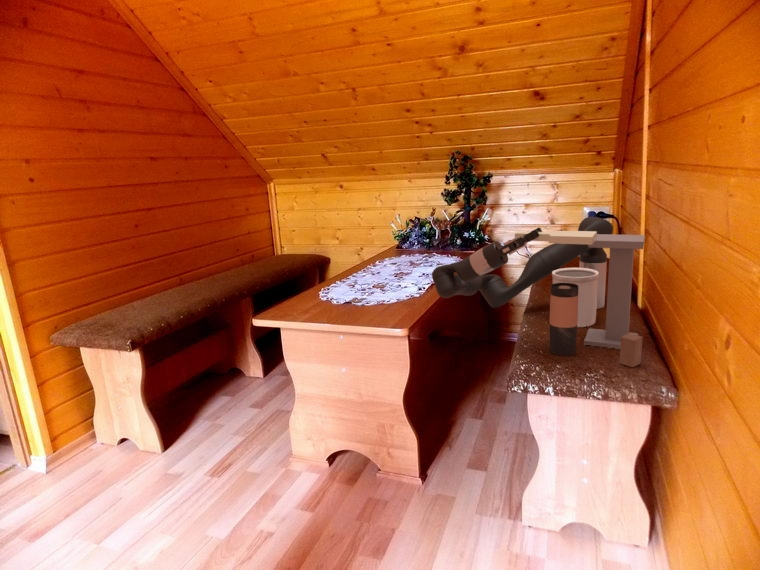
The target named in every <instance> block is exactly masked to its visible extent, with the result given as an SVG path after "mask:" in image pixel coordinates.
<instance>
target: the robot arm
mask: <svg viewBox="0 0 760 570" xmlns="http://www.w3.org/2000/svg"><path fill="white" fill-rule="evenodd" d="M613 226H614V225H613V224H612V222H610V221H609V220H607V219H605V218H601V217H595V216H588V217H585V218H583V219H582V221H581V222H580V223H579V225H578V229H577V231H597V234H612V235H613V233H614V227H613ZM529 232H530V233H528V234H526V235H524V236H525V237H524V236H521V237H520V238H515V237H513V238H512V239H508V240H507V241H505V242H503V243H500V242H499V241H498V240H493V242H491V243H489V244H487V245H485V246H483V247H481V248H480V249H478V250H476V251H475V252H473V253H472V254H470V255H469V256H467V257H464V258H463V259H462V260H459V261H456V262H453V263H449V264H448V263H447V264H443V265H439V266H436V267H435V268H434V269H433V271H432V273H431V278H432V280H433V283H434V287H435V290H436V294H438V296H439V297H441V298H442V299H449V298H451V297H454V296H473V295H475V294H476V293H478V292H480V293H481V296H483V298H484V299H485V301H486V302H487V303H488V305H489V306H490V307H491V308H492V309H496V308H500V307H502V306H503V305H505V304H507V303H508V302H510V301H511V300H512V299H514V298H515V297H516V296H518V295H519V294H521V293H523V292H524V291H525V290H527V289H528V288H529V287H532V286H533V285H534V284H536V283H537V282H539V281H541V280H542V279H544V278H546V277H548V276H550V275H552V272H553V271H554V270H557V269H562V267H563V266H565V265H567V264H568V263H570V262H572V261H573V260H575V259H576V258H578V257H579V267H578V268H588V269H593V270H596V271H598V272H599V277H598V287H597V309H603V308H605V302H606V301H605V300H606V299H605V298H606V297H605V296H606V280H607V263H608V261H607V260H608V254H607V252H606V251H605V250H604V249H605V248H591V247H588V244H557V243H551V244H549V245H547V246H545V247H543V248H541V249H540V250H539V251H537V252H535V253H534V254H531V256H530V257H529V258H528V260H527V262H526V264H525V265H524V267H523V271H522V272H521V274H520V276H519V278H518V279H517V280H516V281H515V282H514V283H512V284H511V285H510V286H508V285H507V284H506V282H505V280H503V277H501V276H500V275H498V274H492V273H491V272H492V271H494V270H497V269H499V268H500V267H503V266H504V265H506V264H507V263H508V262H509V256H511V255H512V254H514V253H515V252H517V251H519V250H520V249H522V248H523V247H525V246H526V245H527V244H528V243H529V242H532V241H531V240H533V239H535V238H537V237H539V233H538V232H543V230H542V228H541V227H537V228H535V229H533V230H531V231H529ZM502 244H503V245H502ZM508 255H509V256H508ZM488 273H491V274H488ZM597 309H596V310H597Z"/></svg>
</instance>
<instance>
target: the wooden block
mask: <svg viewBox="0 0 760 570" xmlns="http://www.w3.org/2000/svg"><path fill="white" fill-rule="evenodd" d="M642 349H643V336H641V335H638V336H637V335H634V334H630V333H629V334H626V335H624V336H622V337H621V347H620V350H619V364H621V365H623V366H627V367H630V368H634V367H636V366H639V365H640V364H641V363H642V362H641V361H642V360H641V359H642Z"/></svg>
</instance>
